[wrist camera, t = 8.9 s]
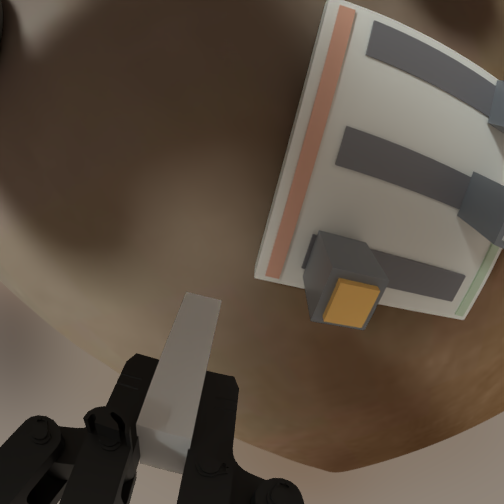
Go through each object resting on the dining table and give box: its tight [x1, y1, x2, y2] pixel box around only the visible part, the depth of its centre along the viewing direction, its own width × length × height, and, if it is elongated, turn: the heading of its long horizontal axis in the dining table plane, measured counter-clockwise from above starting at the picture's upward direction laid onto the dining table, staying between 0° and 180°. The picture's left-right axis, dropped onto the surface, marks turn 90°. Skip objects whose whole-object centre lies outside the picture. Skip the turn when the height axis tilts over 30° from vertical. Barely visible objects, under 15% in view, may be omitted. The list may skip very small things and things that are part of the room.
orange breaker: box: [303, 230, 389, 330], centre depth 19 cm, size 4×4×6 cm
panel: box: [254, 0, 504, 320], centre depth 18 cm, size 20×20×7 cm
